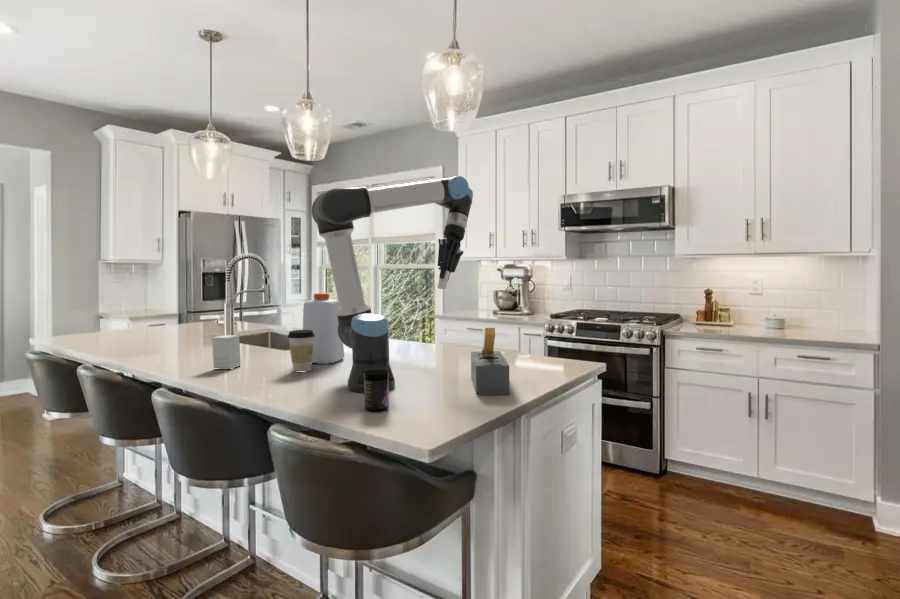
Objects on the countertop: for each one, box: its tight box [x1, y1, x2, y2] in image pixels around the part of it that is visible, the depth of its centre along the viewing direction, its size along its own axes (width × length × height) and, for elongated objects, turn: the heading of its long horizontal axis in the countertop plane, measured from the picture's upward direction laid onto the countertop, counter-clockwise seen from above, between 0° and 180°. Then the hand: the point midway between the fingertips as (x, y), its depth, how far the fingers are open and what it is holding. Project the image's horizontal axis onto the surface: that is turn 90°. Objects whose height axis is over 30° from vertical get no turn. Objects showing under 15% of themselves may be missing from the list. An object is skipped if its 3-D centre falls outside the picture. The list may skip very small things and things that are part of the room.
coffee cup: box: [287, 329, 315, 372], centre depth 204 cm, size 10×10×15 cm
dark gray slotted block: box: [470, 350, 510, 396], centre depth 183 cm, size 40×10×9 cm, turn 1°
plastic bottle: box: [302, 292, 345, 365], centre depth 223 cm, size 15×15×28 cm
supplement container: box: [363, 370, 390, 413], centre depth 149 cm, size 7×7×10 cm
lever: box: [481, 327, 496, 355], centre depth 174 cm, size 2×4×13 cm
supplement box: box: [211, 334, 242, 369], centre depth 211 cm, size 7×7×13 cm
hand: (441, 288), depth 193 cm, fingers closed
